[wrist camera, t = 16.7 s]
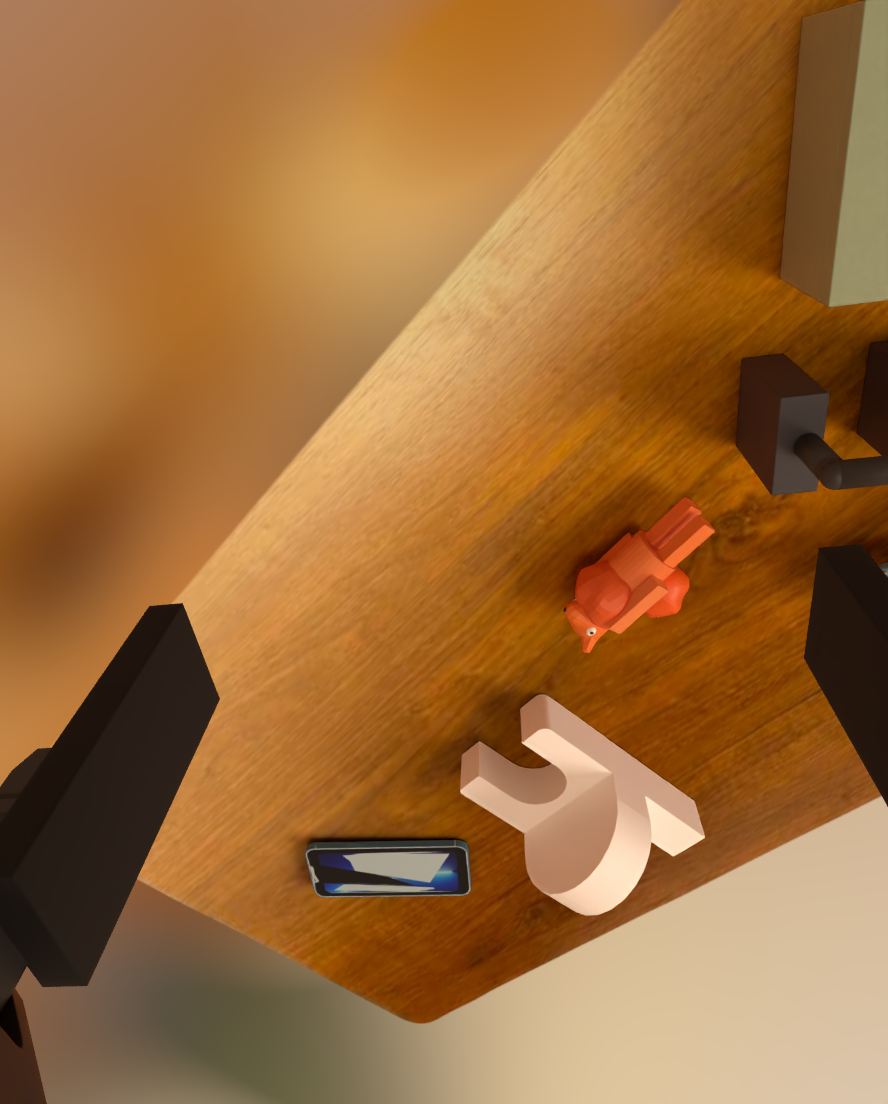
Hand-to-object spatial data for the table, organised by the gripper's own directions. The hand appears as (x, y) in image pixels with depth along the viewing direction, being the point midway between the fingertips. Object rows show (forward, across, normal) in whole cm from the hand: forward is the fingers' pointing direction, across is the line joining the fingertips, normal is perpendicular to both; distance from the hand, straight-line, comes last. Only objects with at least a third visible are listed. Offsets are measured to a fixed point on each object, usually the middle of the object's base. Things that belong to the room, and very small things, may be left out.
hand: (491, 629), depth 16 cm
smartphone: (+32, -15, -50) cm, 61 cm away
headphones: (+32, +19, -8) cm, 38 cm away
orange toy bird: (+32, +8, -19) cm, 38 cm away
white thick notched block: (+32, +3, -40) cm, 51 cm away
